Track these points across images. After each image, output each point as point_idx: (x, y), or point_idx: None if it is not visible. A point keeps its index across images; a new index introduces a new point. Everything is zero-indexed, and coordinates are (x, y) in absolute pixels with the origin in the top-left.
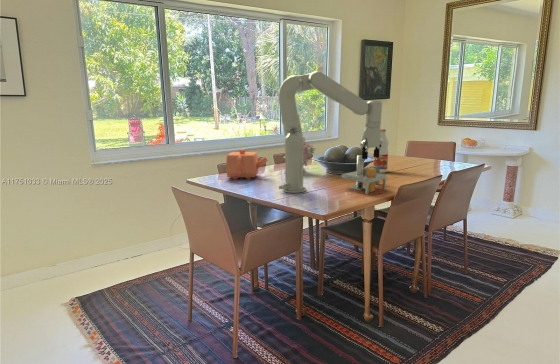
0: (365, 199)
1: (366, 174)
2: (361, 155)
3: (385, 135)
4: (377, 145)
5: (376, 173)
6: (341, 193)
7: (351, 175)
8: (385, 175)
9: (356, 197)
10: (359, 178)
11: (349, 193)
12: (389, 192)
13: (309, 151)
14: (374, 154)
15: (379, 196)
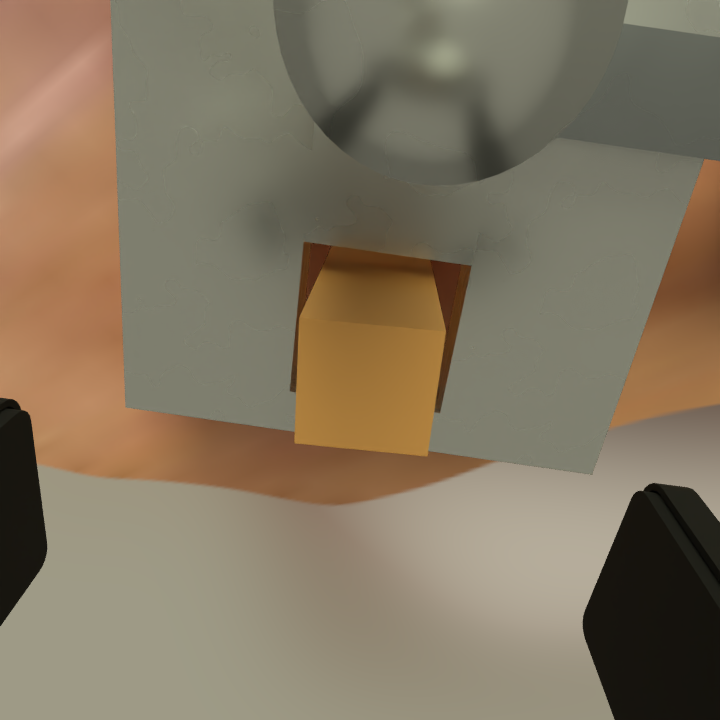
0: (38, 399)
1: (315, 283)
2: (542, 7)
3: None
4: None
5: (628, 306)
6: (3, 52)
7: (163, 15)
8: (564, 468)
9: (20, 298)
10: (124, 253)
11: (84, 138)
12: (435, 454)
13: None
14: (660, 580)
15: (227, 447)
